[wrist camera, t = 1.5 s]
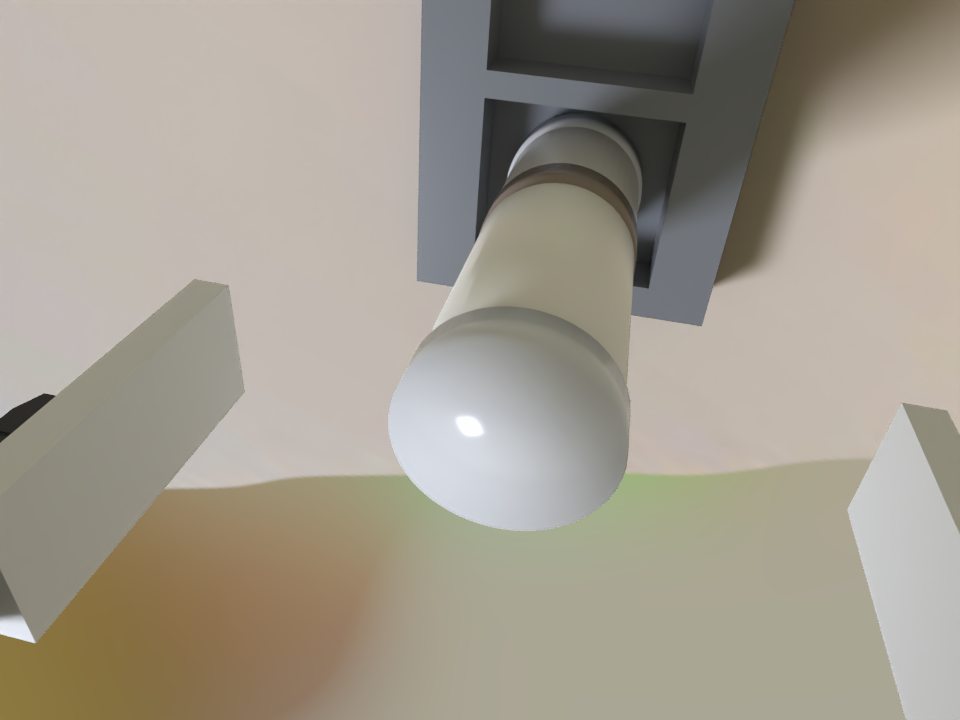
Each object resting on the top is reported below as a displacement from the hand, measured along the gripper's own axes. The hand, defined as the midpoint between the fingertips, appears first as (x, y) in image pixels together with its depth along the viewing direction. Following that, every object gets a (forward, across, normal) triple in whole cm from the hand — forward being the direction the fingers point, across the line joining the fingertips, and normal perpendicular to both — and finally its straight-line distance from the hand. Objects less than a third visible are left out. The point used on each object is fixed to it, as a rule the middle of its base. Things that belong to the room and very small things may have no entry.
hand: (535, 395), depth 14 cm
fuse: (+12, 0, 0) cm, 12 cm away
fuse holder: (+13, 0, +3) cm, 13 cm away
